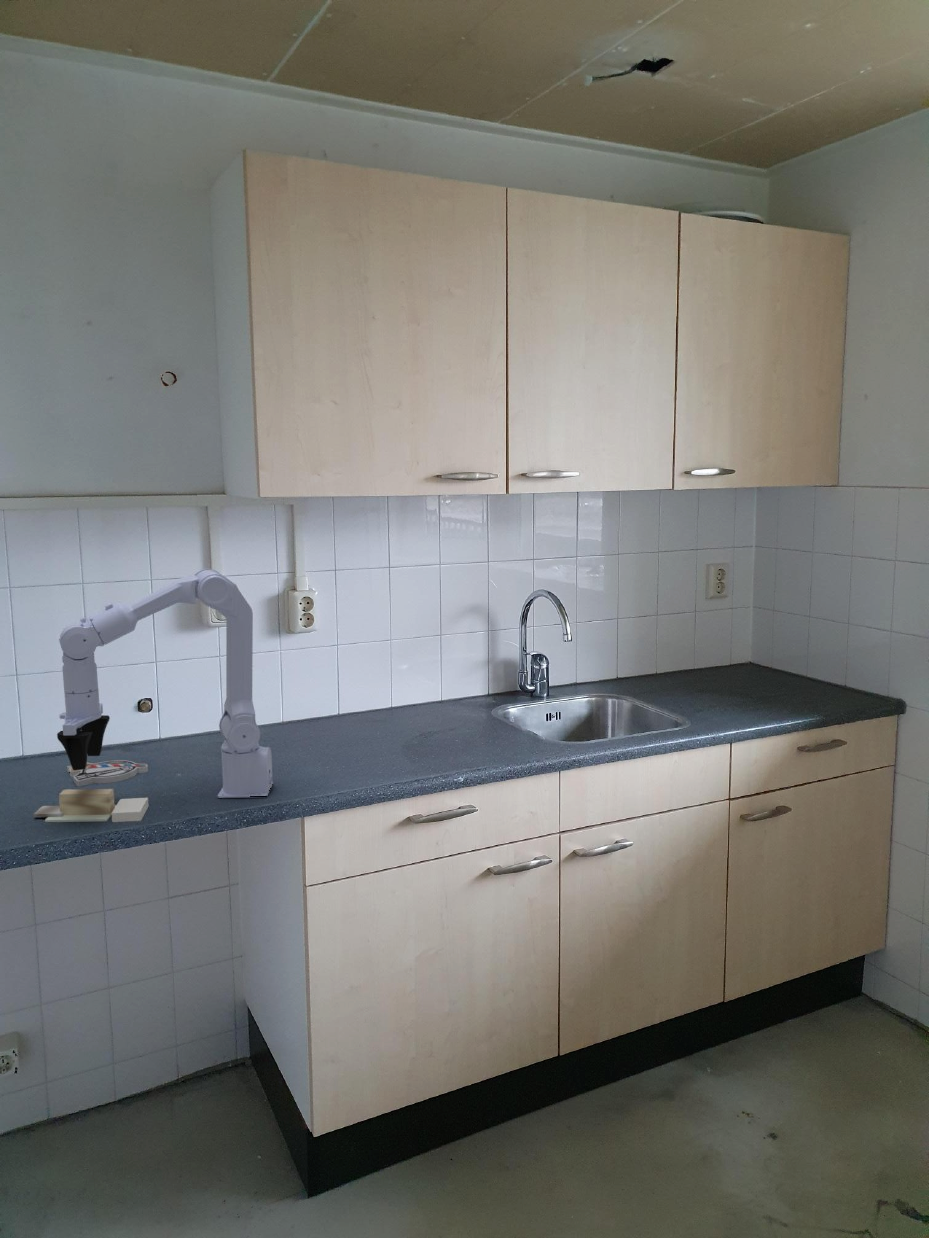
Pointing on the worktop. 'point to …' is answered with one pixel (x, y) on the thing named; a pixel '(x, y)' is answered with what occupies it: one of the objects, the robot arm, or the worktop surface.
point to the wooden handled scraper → (80, 803)
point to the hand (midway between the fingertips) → (86, 762)
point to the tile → (130, 810)
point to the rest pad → (79, 818)
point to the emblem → (106, 772)
